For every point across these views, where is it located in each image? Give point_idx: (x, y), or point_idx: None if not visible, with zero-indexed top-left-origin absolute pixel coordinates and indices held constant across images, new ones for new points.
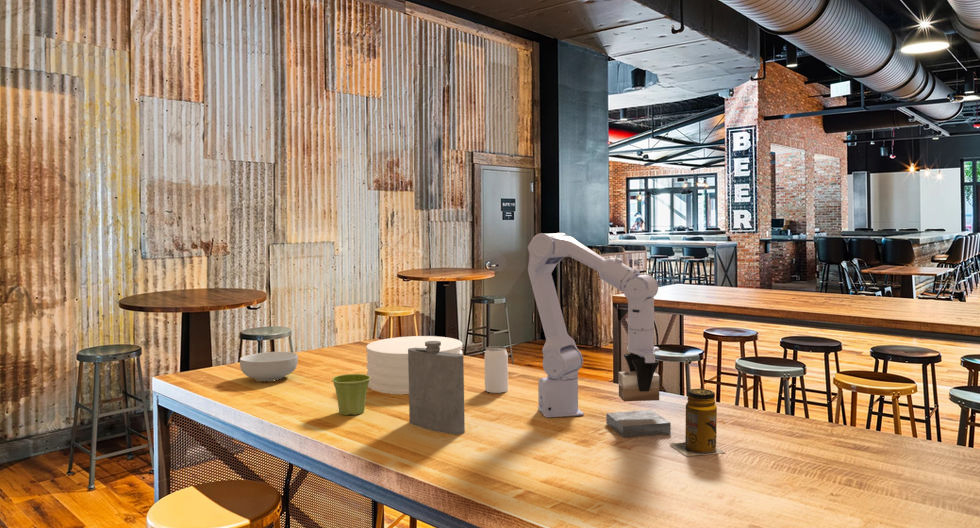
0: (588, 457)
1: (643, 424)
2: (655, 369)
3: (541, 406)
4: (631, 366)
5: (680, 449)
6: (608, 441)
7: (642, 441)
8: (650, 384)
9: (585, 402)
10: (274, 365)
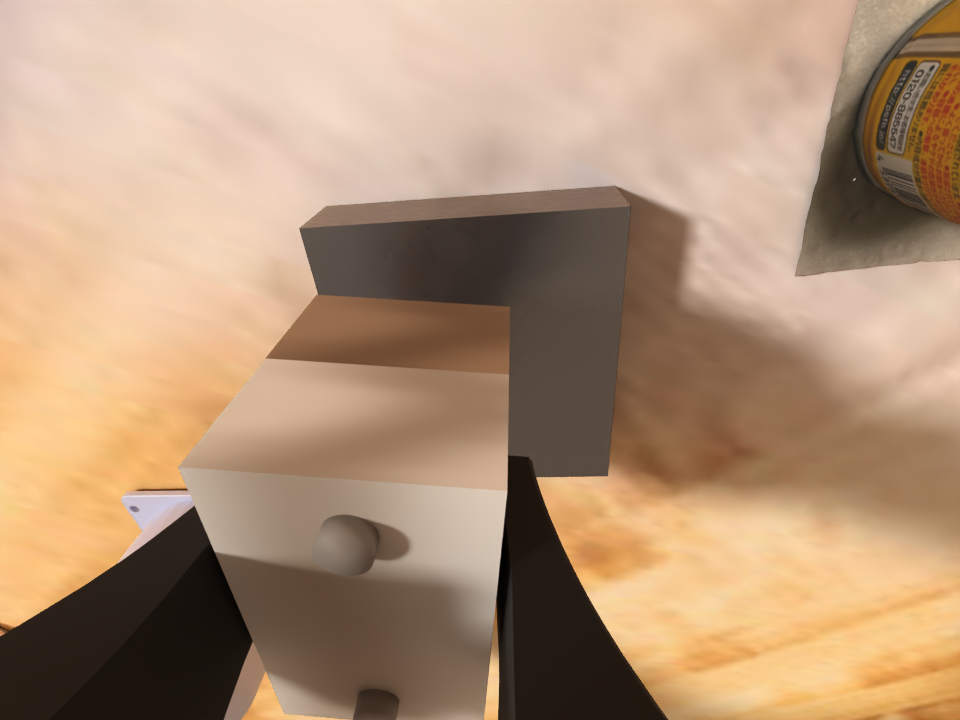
0: (763, 579)
1: (611, 382)
2: (658, 707)
3: None
4: (218, 715)
5: (903, 243)
6: (626, 492)
7: (678, 376)
8: (542, 505)
9: (24, 430)
10: None
